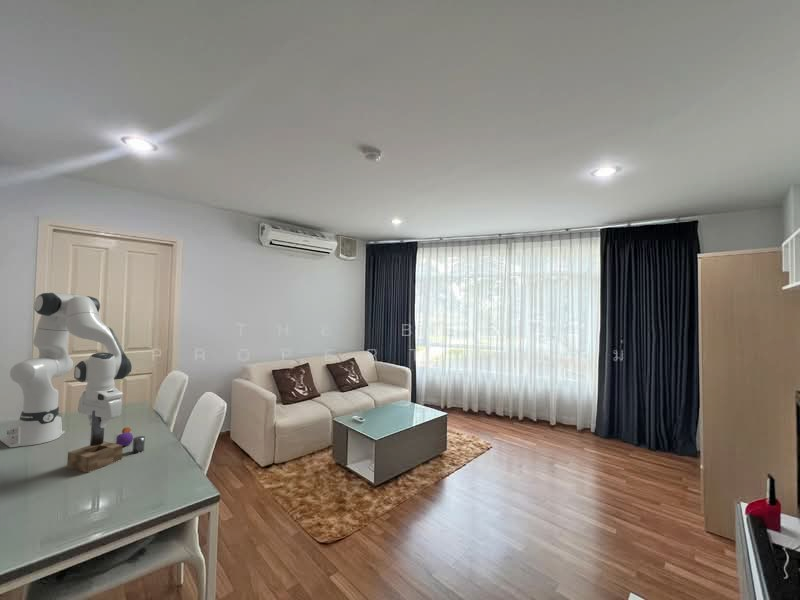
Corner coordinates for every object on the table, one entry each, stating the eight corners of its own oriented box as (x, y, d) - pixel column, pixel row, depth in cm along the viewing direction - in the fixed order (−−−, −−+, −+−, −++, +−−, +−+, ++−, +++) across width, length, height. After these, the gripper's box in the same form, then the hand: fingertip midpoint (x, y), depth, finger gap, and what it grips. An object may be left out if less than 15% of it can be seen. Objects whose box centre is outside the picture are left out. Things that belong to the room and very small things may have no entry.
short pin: (130, 452, 144) (131, 438, 144) (139, 448, 148) (140, 435, 148) (136, 453, 143) (137, 440, 143) (146, 450, 147) (146, 436, 147)
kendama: (135, 424, 167) (134, 434, 151) (131, 436, 165) (130, 447, 150) (120, 424, 163) (118, 434, 147) (116, 437, 162) (114, 448, 146)
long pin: (87, 444, 132) (89, 410, 133) (99, 441, 136) (101, 407, 136) (94, 446, 131) (96, 411, 131) (105, 442, 135) (108, 408, 135)
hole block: (66, 467, 129) (68, 452, 129) (102, 455, 141) (102, 441, 141) (87, 473, 126) (88, 457, 126) (121, 459, 137) (122, 445, 137)
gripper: (73, 391, 134) (71, 425, 134) (108, 397, 128) (106, 432, 128) (92, 388, 140) (89, 420, 140) (125, 393, 134) (123, 427, 134)
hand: (97, 426), depth 134 cm, fingers closed on long pin, 4 cm apart
